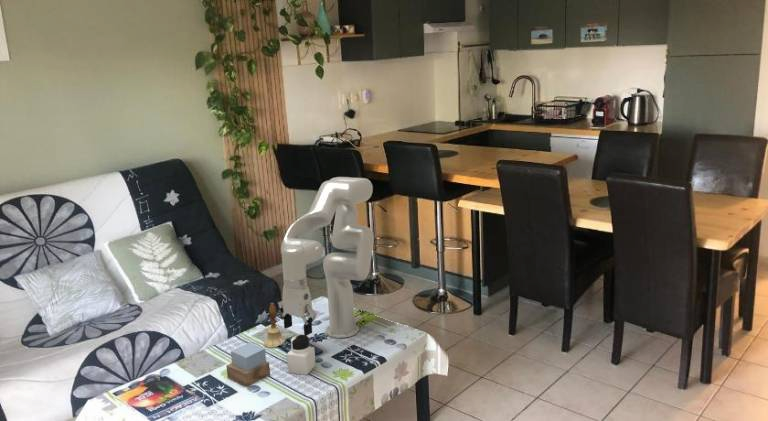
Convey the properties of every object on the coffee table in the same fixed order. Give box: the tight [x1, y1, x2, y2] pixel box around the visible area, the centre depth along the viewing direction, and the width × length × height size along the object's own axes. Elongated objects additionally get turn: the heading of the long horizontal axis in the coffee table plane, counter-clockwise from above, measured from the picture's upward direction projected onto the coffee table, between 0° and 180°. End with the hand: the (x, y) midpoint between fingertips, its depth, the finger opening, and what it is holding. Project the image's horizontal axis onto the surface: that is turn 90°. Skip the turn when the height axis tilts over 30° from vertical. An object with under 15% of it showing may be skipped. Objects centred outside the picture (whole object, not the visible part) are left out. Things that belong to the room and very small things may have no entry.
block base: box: [225, 360, 271, 388], centre depth 221 cm, size 10×10×5 cm
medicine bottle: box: [286, 334, 316, 376], centre depth 224 cm, size 7×7×12 cm
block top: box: [230, 342, 267, 372], centre depth 220 cm, size 8×8×5 cm
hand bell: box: [263, 302, 286, 349], centre depth 243 cm, size 8×8×16 cm
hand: (298, 330), depth 221 cm, fingers open, 9 cm apart
